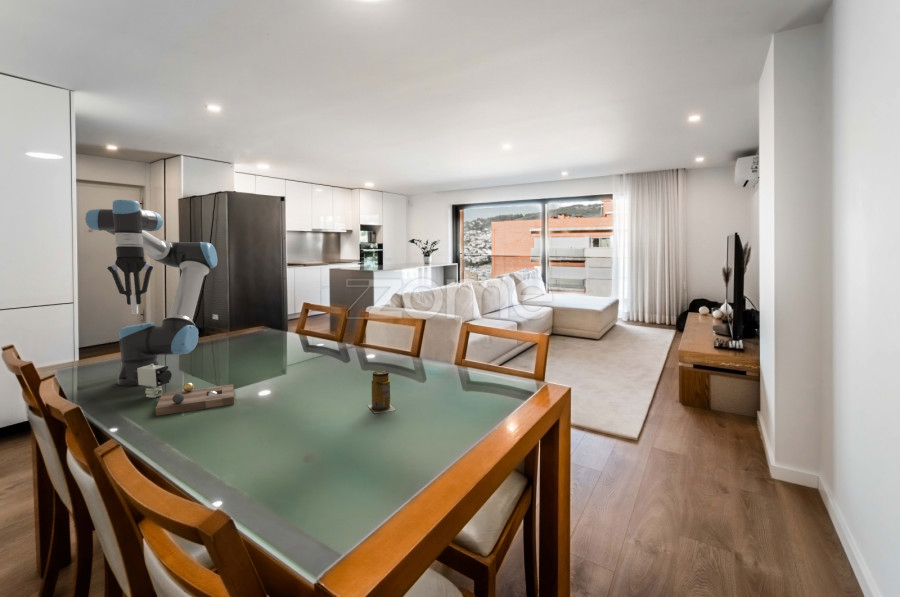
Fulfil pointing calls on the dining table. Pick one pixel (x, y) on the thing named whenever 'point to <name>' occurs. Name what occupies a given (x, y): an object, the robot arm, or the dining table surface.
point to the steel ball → (212, 393)
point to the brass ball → (188, 387)
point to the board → (196, 400)
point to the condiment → (381, 392)
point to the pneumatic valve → (152, 378)
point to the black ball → (178, 398)
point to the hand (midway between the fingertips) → (135, 313)
